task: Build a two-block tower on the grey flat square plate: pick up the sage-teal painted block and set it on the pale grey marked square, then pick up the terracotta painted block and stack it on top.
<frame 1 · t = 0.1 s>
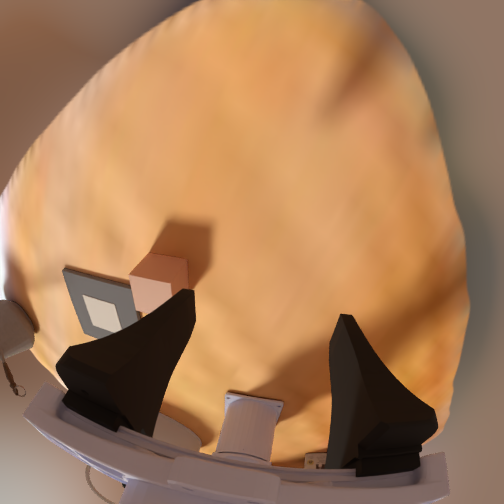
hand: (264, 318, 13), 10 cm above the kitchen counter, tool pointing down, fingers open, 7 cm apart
coffee pot: (34, 320, 38), on the kitchen counter
grey flat square plate: (105, 312, 31), on the kitchen counter
top block: (169, 273, 26), on the kitchen counter
coffee box: (319, 458, 44), on the kitchen counter
kettle: (148, 423, 48), on the kitchen counter
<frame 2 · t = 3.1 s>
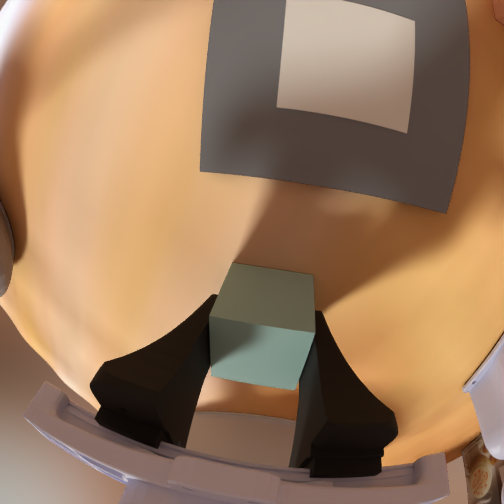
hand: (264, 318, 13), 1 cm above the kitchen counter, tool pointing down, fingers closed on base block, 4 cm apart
coffee pot: (17, 223, 16), on the kitchen counter
base block: (268, 300, 14), on the kitchen counter, touching gripper
grey flat square plate: (348, 59, 8), on the kitchen counter
coffee box: (486, 433, 22), on the kitchen counter
kettle: (250, 448, 26), on the kitchen counter
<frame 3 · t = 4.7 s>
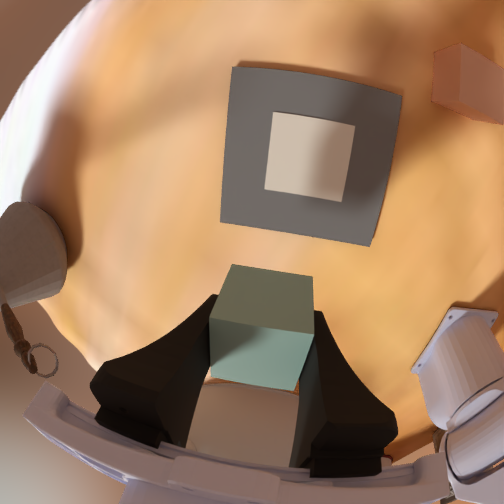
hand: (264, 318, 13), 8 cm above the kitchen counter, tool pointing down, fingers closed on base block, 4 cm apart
coffee pot: (72, 239, 24), on the kitchen counter
base block: (267, 302, 14), point 7 cm above the kitchen counter, touching gripper
grey flat square plate: (308, 155, 17), on the kitchen counter
top block: (454, 86, 12), on the kitchen counter
coffee box: (454, 420, 31), on the kitchen counter
kettle: (247, 419, 35), on the kitchen counter
when the fingers open (3 cm above the kitchen counter, at t = 6.5 s): base block drops 1 cm, resting on grey flat square plate.
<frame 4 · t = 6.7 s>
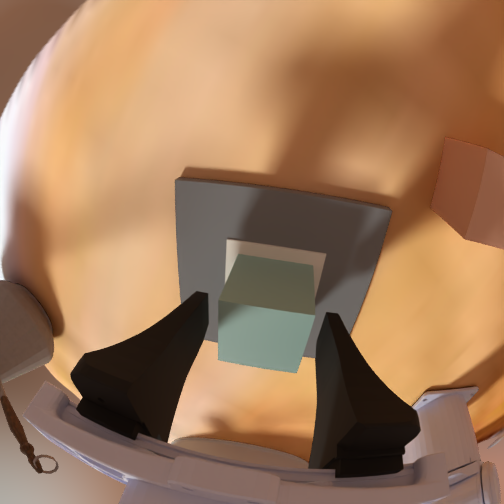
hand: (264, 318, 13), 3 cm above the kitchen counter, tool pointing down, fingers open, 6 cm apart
coffee pot: (54, 316, 23), on the kitchen counter
base block: (271, 290, 15), point 1 cm above the kitchen counter, touching grey flat square plate
grey flat square plate: (271, 280, 16), on the kitchen counter
top block: (464, 181, 11), on the kitchen counter
kettle: (234, 460, 34), on the kitchen counter
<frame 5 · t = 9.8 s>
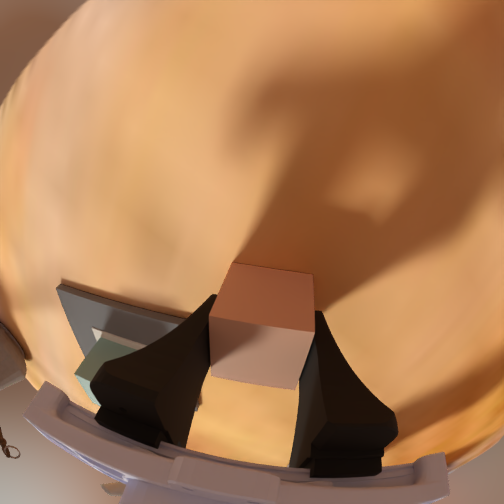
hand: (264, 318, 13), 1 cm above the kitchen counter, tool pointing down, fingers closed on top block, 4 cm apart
coffee pot: (24, 346, 26), on the kitchen counter
base block: (127, 361, 19), point 1 cm above the kitchen counter, touching grey flat square plate
grey flat square plate: (130, 353, 19), on the kitchen counter
top block: (267, 300, 14), on the kitchen counter, touching gripper
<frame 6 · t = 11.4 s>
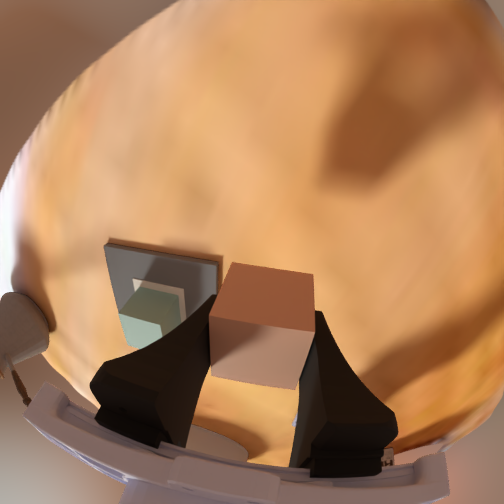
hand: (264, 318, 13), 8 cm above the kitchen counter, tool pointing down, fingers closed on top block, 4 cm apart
coffee pot: (49, 317, 33), on the kitchen counter
base block: (160, 307, 25), point 1 cm above the kitchen counter, touching grey flat square plate
grey flat square plate: (162, 301, 25), on the kitchen counter
top block: (268, 300, 14), point 7 cm above the kitchen counter, touching gripper
coffee box: (372, 455, 39), on the kitchen counter
kettle: (188, 440, 44), on the kitchen counter
when the fingers open (7 cm above the kitchen counter, at t = 13.2 s): top block drops 1 cm, resting on base block.
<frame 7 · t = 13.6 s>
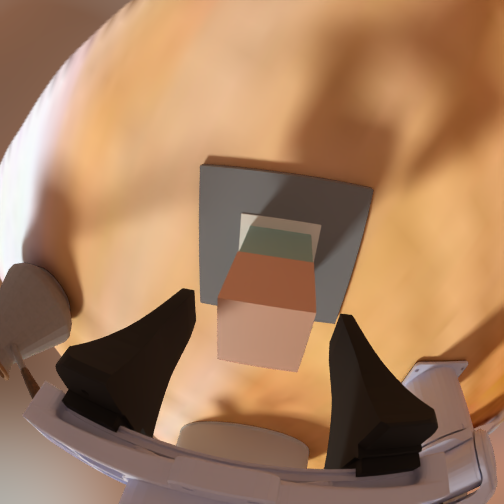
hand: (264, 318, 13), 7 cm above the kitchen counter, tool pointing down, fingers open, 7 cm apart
coffee pot: (73, 296, 27), on the kitchen counter
base block: (276, 256, 19), point 1 cm above the kitchen counter, touching grey flat square plate, top block
grey flat square plate: (277, 249, 19), on the kitchen counter
top block: (271, 288, 15), point 5 cm above the kitchen counter, touching base block
kettle: (239, 445, 38), on the kitchen counter
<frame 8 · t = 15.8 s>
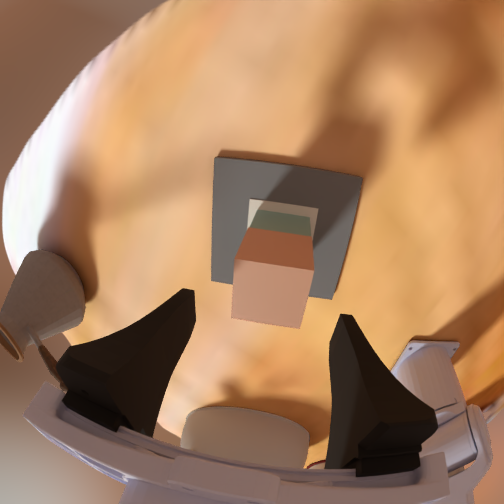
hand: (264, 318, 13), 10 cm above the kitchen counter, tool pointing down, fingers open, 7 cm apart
coffee pot: (88, 281, 29), on the kitchen counter
base block: (280, 236, 22), point 1 cm above the kitchen counter, touching grey flat square plate, top block
grey flat square plate: (280, 231, 22), on the kitchen counter
top block: (276, 259, 18), point 5 cm above the kitchen counter, touching base block
kettle: (242, 431, 42), on the kitchen counter
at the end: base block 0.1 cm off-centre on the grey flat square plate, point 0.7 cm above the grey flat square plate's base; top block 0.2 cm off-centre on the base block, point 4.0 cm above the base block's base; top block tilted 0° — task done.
